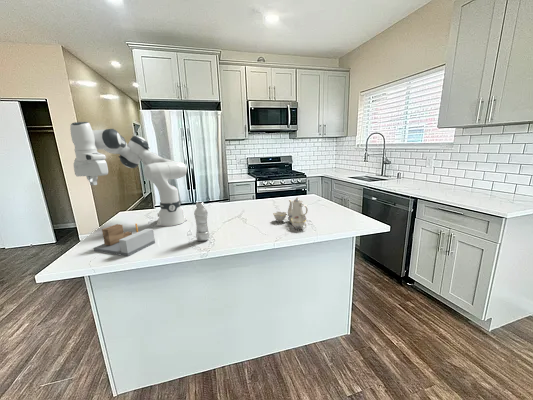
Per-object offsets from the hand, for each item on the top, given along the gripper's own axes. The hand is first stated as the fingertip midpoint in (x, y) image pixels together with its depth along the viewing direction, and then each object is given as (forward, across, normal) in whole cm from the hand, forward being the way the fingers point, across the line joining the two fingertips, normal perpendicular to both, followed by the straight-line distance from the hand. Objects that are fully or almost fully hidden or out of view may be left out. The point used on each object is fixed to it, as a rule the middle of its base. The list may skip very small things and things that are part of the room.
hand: (93, 185), depth 120 cm
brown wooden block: (+29, +7, +1) cm, 30 cm away
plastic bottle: (+33, +46, +19) cm, 60 cm away
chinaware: (+35, +83, +58) cm, 107 cm away
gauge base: (+31, +14, 0) cm, 34 cm away
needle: (+29, +16, +6) cm, 34 cm away
